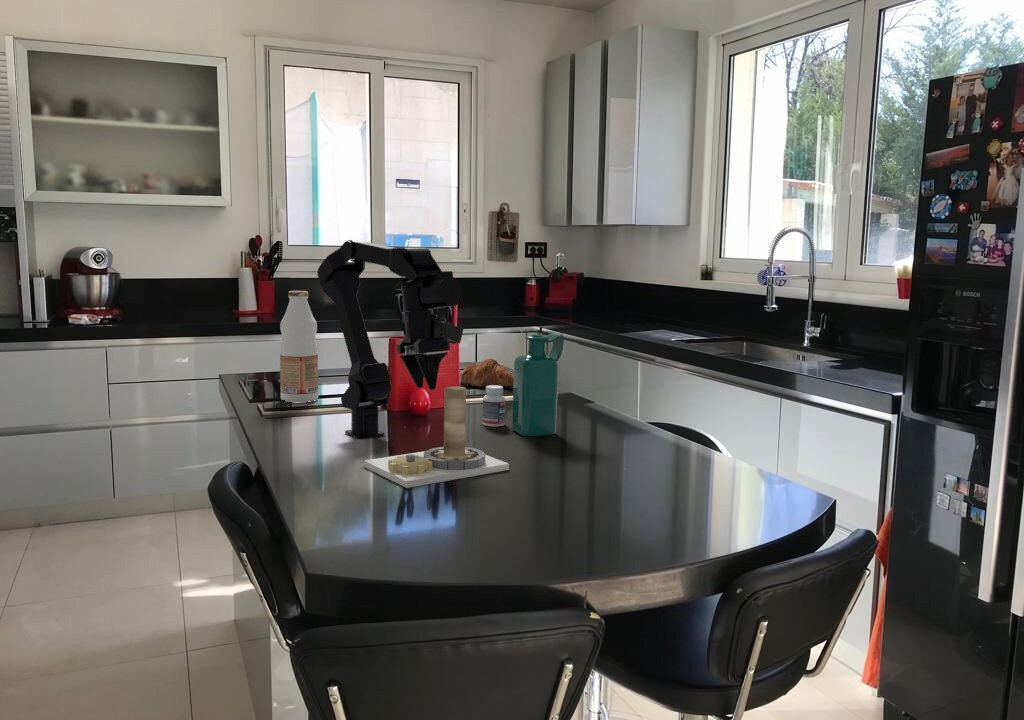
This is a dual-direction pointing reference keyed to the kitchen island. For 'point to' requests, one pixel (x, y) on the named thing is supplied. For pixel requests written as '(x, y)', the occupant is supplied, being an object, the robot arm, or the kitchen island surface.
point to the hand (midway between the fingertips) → (426, 388)
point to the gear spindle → (454, 425)
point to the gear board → (433, 467)
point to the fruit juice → (298, 351)
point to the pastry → (487, 374)
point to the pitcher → (536, 387)
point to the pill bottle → (494, 406)
